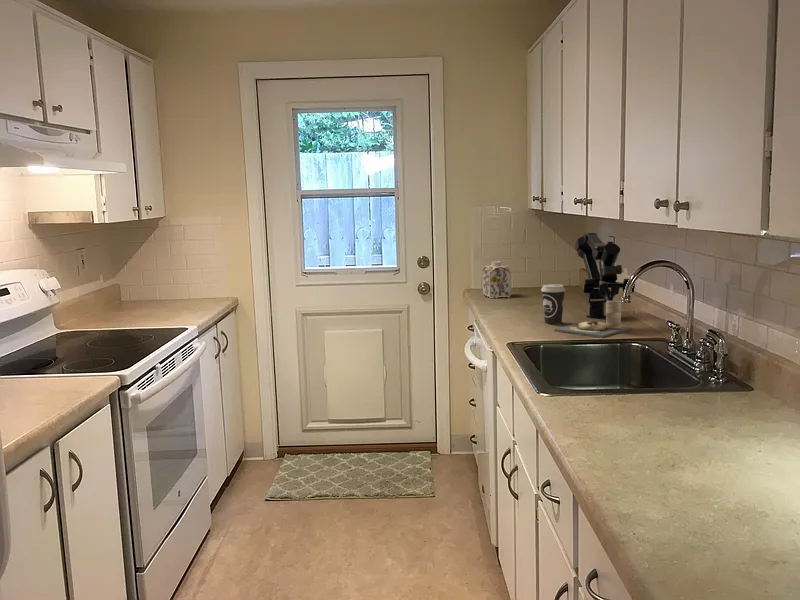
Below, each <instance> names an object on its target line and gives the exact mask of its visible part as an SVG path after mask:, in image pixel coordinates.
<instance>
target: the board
mask: <svg viewBox="0 0 800 600" xmlns="http://www.w3.org/2000/svg"><path fill="white" fill-rule="evenodd" d="M579 323H580V322H578V323H572V324H570V325H564V326H561V327H557V328H554V332H557V331H558V332H559V333H565V334H571V333H572V335H578V334H581V335H580V336H585V335H588V336H587V337H593V336H595V337H594V338H600V337H603V338H606V337H609V336H608V335H610V336H612V335H611V334H613V335H616V334H615V333H617V334H620V333H623V332H627V330H628V331H630V330H632V327H631V326H623V325H621V328H606V329H604V330H582V329H579ZM619 332H620V333H619ZM605 336H606V337H605Z"/></svg>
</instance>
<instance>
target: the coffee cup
mask: <svg viewBox="0 0 800 600" xmlns="http://www.w3.org/2000/svg"><path fill="white" fill-rule="evenodd" d="M540 291H541V292H542V293H541V295H542V304H543V314H544V323H545V324H546V323H548V324H547V325H560V323H561V324H562V321H563V312H564V311H563V310H564V300H565V292H566V291H567V290H566V288H565V286H564V284H559V283H558V284H557V283H555V284H554V283H552V284H551V283H550V284H542V287H541V289H540Z"/></svg>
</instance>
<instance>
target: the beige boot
mask: <svg viewBox="0 0 800 600" xmlns="http://www.w3.org/2000/svg"><path fill="white" fill-rule="evenodd" d="M605 303H606V305H605V309H606V311H605V315H606V317H605V319H606V320H605V321H606V323H605V322H601V321H596V320H589V321H582V322H578V323H579V329H582V330H604V329H606V328H621V326H622V320H621V318H622V301H621V300H613V301H606V302H605Z"/></svg>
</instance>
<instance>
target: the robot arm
mask: <svg viewBox="0 0 800 600" xmlns="http://www.w3.org/2000/svg"><path fill="white" fill-rule="evenodd" d="M574 250H575V252H576V253H577V255H578V257H580V258H581V259H583V263H584V266H585V270H586V273H587V277H588V278H587V279H584V280H583V285H582V286H583V287H582V288H583V290H582V292H583V294H585V295H584V296H585V303H588V304H589V309H588V310H589V314H588V315H586V318H595V319H602V318H606V311H605V309H606V305H605V303H606V301H614V298H615V297H616V295H619V292H620V289H622V292H623V293H625V292H624V289H625V286H626V284H627V282H628V280H629V279H630V278H623V281H618V275H622V272H623V267H622V265H621V264H616V265H615V263H617V260H618V257H619V254H620V252H621V247H620V246H619V245H617V244H616V243H614V241H607V243H604V242H603V241H602V240H601V239H600V237H599V236H598V233H597V232H586V233H584V234H583V235H582V236H581V237H579V238H578V239H577V240H576V242H575V244H574ZM597 261H598V264H597ZM635 286H636V283H635V284H634V286H633V288H632V292H631V293H632V294H633V293H634V292H635ZM631 293H630V294H631Z"/></svg>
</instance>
